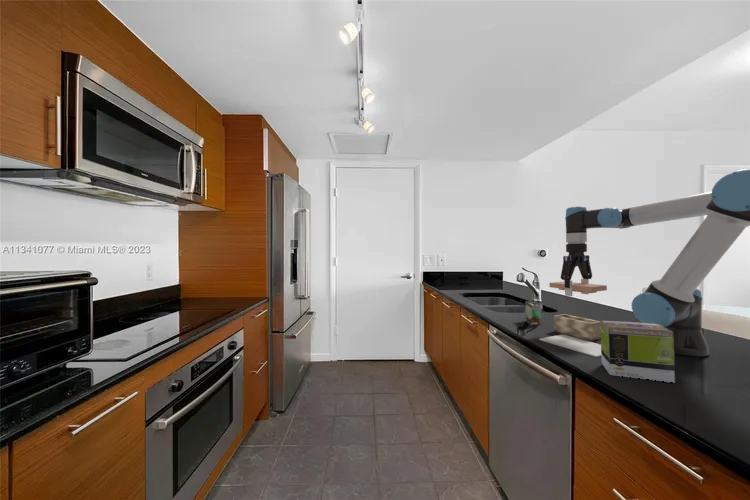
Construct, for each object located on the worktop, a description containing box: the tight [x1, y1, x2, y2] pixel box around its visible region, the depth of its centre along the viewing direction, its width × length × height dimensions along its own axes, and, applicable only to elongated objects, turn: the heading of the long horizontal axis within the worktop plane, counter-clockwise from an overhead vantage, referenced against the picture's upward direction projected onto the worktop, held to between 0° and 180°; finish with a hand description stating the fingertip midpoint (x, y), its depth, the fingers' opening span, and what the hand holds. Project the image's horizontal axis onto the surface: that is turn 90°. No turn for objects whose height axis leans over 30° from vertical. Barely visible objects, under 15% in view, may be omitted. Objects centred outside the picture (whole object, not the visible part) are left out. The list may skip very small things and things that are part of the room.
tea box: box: [600, 320, 676, 384], centre depth 93 cm, size 15×10×15 cm, turn 65°
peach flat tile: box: [549, 280, 608, 294], centre depth 132 cm, size 18×10×3 cm, turn 24°
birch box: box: [553, 313, 601, 342], centre depth 132 cm, size 16×7×7 cm, turn 24°
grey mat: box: [539, 333, 601, 358], centre depth 119 cm, size 22×14×1 cm, turn 24°
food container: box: [525, 300, 544, 327], centre depth 152 cm, size 12×6×10 cm, turn 168°
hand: (576, 294), depth 132 cm, fingers closed on peach flat tile, 10 cm apart
